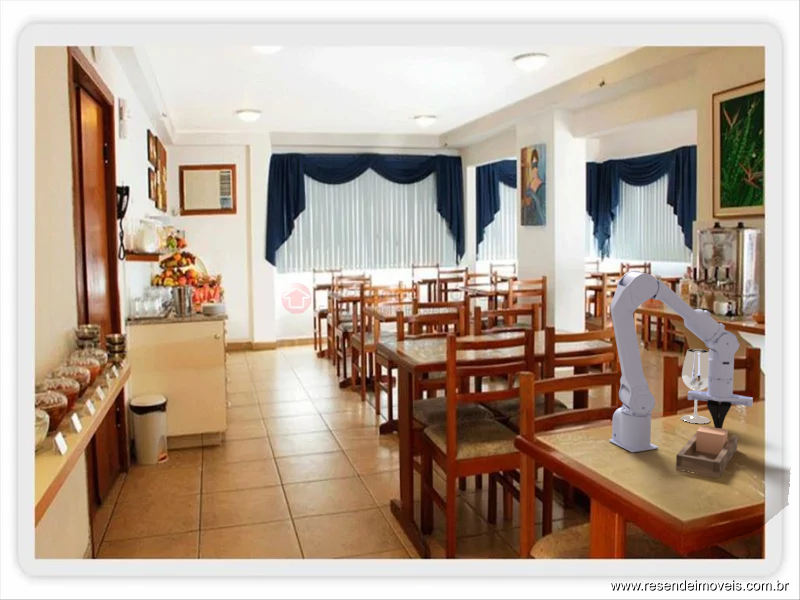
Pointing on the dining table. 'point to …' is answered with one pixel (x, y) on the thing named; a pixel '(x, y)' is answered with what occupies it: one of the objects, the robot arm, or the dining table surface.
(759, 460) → the dining table surface
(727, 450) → the shallow wooden tray
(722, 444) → the block
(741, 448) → the dining table surface
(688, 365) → the wineglass
